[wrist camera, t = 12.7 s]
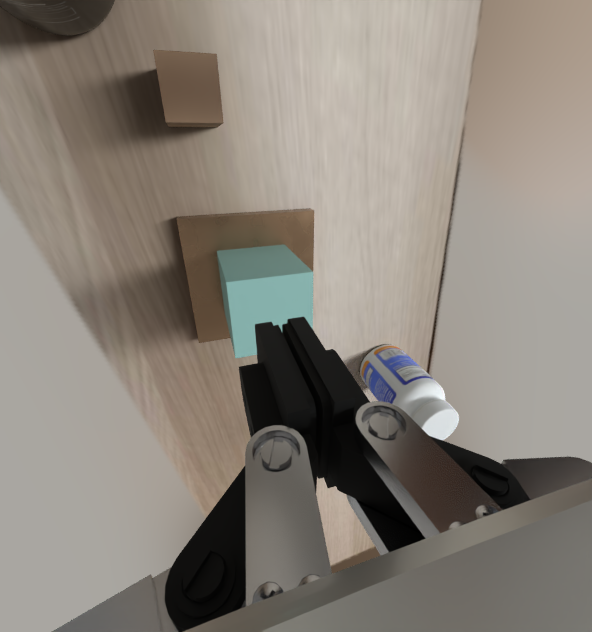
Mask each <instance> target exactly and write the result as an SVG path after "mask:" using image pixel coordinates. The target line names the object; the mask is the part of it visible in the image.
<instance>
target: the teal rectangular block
mask: <svg viewBox="0 0 592 632" xmlns="http://www.w3.org/2000/svg"><path fill="white" fill-rule="evenodd" d="M217 257H218V265H219V273H220V280H221V288H222V295H223V303H224V310H225V316H226V320H227V324H228V328H229V333H230V337H231V341H232V345H233V349H234V354H235V358H240V357H245V356H251V355H256V354H257V347H256V335H255V324H259V323H265V322H272V323H273V326H274V325H279V327H280V329H281V331H282V325H283V324H286V323H287V320H288V319H291V318H297V317H305V318H306V320H307V321H308V323H309V325H310V326H311V328H312V326H313V271H312V270H311V269H310V268H309V267H308V266H307V265H305V264H304V263H303V262H302V261H301V260H300V259H299V258H298V257H297V256H296V255H295V254H294V253H293V252H292V251H291V250H290V249H289V248H288V247H287V246H286V245H285V244H284V245H273V246H262V247H252V248H241V249H231V250H220V251H217Z"/></svg>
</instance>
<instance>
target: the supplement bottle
mask: <svg viewBox="0 0 592 632" xmlns="http://www.w3.org/2000/svg"><path fill="white" fill-rule="evenodd" d="M114 1H115V0H0V6H1V7H2V8H3V9H5V10H6V11H7V12H9V13H10V14H12V15H13V16H14V17H16V18H18V19H19V20H21V21H22V22H24V23H26V24H28V25H30V26H32V27H34V28H36V29H39V30H41V31H44V32H48V33H52V34H57V35H77V34H82V33H85V32H88V31H90V30H92V29H94V28H95V27H97V26H98V25H99V24H100V23H101V22H102V21H103V20H104V19H105V18H106V17H107V15H108V14H109V12H110V10H111V8H112V6H113V4H114Z"/></svg>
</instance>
